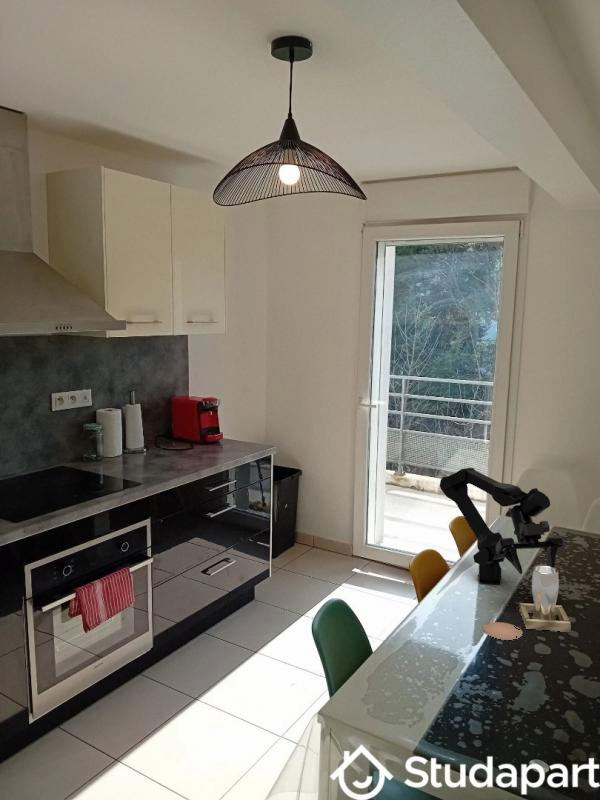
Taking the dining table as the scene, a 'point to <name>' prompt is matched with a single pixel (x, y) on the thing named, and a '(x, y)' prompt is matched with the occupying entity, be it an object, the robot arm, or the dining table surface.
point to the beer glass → (544, 592)
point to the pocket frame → (550, 625)
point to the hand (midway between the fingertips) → (537, 573)
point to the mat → (502, 631)
